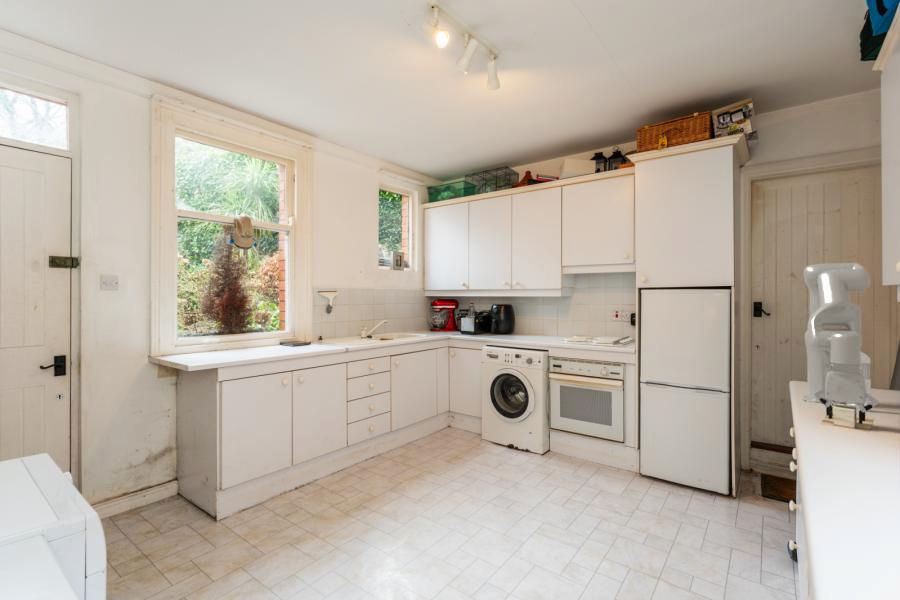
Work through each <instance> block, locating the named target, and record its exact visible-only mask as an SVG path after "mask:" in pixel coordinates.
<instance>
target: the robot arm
mask: <svg viewBox="0 0 900 600" xmlns="http://www.w3.org/2000/svg"><path fill="white" fill-rule="evenodd" d="M803 278H804V279H803V280H804V282H805V284H806V286H807V289H808V292H809V319H808V321H807V327H806V328H807V329H806V331H805V333H804V342H805V349H806V358H807V359H806V360H807V362H806V363H807V364H806V365H807V366H806V367H807V369H806V371H807V372H806V373H807V380H806V381H807V384H806V385H807V387H806V388H807V391H806V392H807V393H806V394H807V395H804V396H802V400H803V399H804V400H803V401H805V400H806V401H805V402H808V401H809V402H808V403H812V402H814V403H813V404H819V403H820V404H821V405H824V407H825V411H826V412H825V413H826V415H825V416H829V419H832V417H833V413H834V406H836V404H843V403H845V404H846V403H851V404H857V405H858V407H859V408H860V411H858V416H859V423H860V424H862V423H863V421H865V417H866V412H869V411H868V410H869V409H871V410H872V409H873V408H874V407H876V406H877V405H878V404H879V403H880V401H879V400H878V399H877V398H875V397H873V396H872V394H871V395H869V394H868V393H866V385H865V379H864V375H863V374H861V365H860V364H861V352H862V350H861V348H862V347H863V337H862V320H863V319H862V310H861V307H860V306H859V305H858V304H856V303H853V302H851V295H850V292H865V291H867V290H868V289H869V288H870V285H871V278H870V274H869V273H868V271H867V269H866V268H865V267H864V266H862V264H860V263H858V262H839V263H838V262H836V263H834V262H833V263H832V262H831V263H816V264H809V265H807V266H805V267H804V270H803ZM818 325H819V326H842V327H845V328H840V327H838V328H836V327H818ZM866 398H867V399H869V400H870V401H871V403H870V404H868V405H866V406H864V403H865V402H866ZM831 404H835V405H834V406H833V405H831Z"/></svg>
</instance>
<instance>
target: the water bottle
mask: <svg viewBox="0 0 900 600" xmlns="http://www.w3.org/2000/svg"><path fill="white" fill-rule="evenodd" d="M862 349H863V348H862V347H861V364H860V365H861V374H863V375H864V379H865V385H866V393H868V394H869V395H871V396H872V394H871V393H872V390H871V389H872V387H871V386H872V383H871V381H872V380H871V361H872V360H871V358H870V357H869V355H867V354H866V353H864V352H862ZM870 403H871V401H870V400H869V399H867V398H866V402H865V403H864V406H866V405H868V404H870ZM845 405H850V406H857V411H858V412H859V411H860V408H859V407H858V405H857V404H851V403H845ZM871 411H872V408H871V409H869V410H868V411H867V412H871Z"/></svg>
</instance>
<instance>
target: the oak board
mask: <svg viewBox="0 0 900 600" xmlns="http://www.w3.org/2000/svg"><path fill="white" fill-rule="evenodd" d="M874 420H875V418H873V417H866V416H865V421H863V423H862V424H860V423H859V415H857V424H856V426H855V428H848V427H842V426H835V425H834V412H833V417H832V419H829V416H827V415H825V417H824V418H823V420H822V421H820V425H824V426H830V427H835V428H836V427H838V428H842V429H848V430H849V429H850V430H853V431H854V430H855V431H861V432H867V433H870V431H871V428H872V425H873V423H874Z"/></svg>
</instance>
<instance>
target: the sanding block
mask: <svg viewBox="0 0 900 600" xmlns="http://www.w3.org/2000/svg"><path fill="white" fill-rule="evenodd" d="M833 413H834V425H835V426H834V427H836V426H842V427H848V428H855V426H856V424H857V416H858V412H857V406H850V405H847V404H843V403H842V404H836V405H834V406H833ZM842 427H841V428H842ZM848 428H847V429H848Z"/></svg>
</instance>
